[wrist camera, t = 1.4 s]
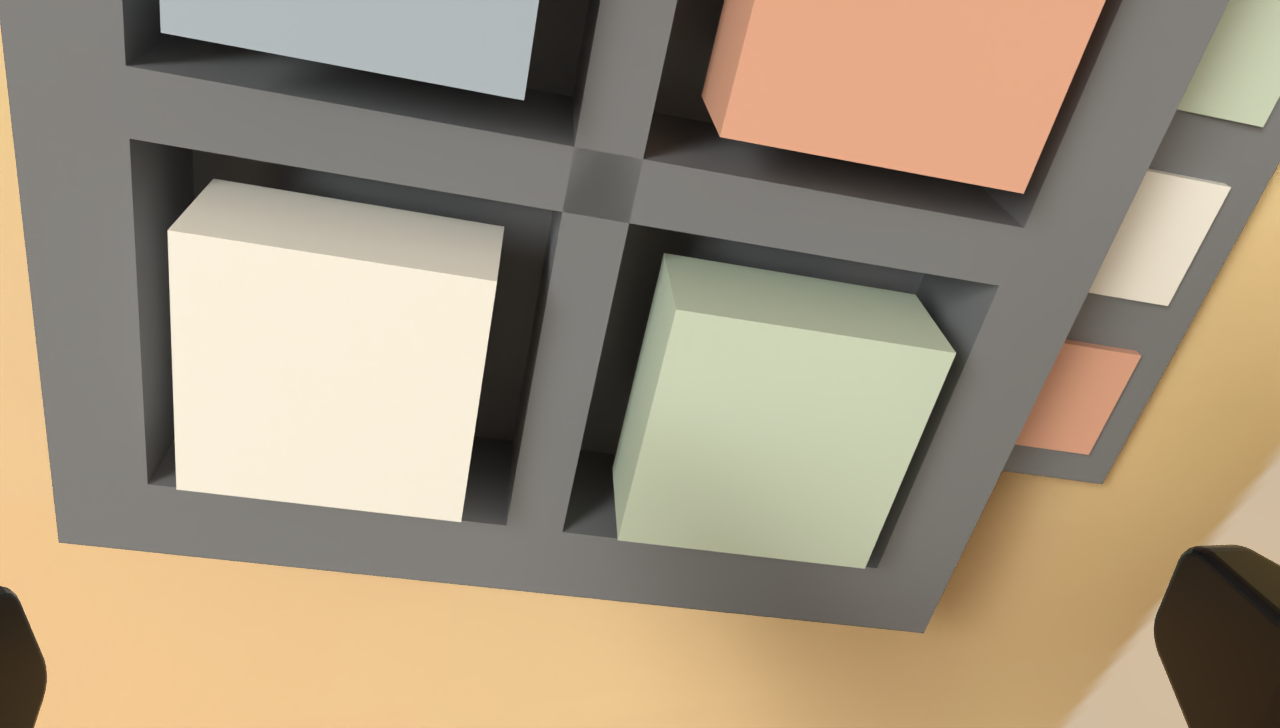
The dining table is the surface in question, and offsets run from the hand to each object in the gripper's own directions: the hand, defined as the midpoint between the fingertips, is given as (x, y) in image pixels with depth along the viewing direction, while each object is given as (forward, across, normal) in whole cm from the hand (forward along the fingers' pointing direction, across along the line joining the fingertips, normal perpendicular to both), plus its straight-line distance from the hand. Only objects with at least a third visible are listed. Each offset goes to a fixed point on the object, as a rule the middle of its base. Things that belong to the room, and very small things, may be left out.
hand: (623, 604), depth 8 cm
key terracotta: (+9, -4, -3) cm, 10 cm away
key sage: (+9, -3, +4) cm, 10 cm away
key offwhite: (+9, +4, +2) cm, 10 cm away
